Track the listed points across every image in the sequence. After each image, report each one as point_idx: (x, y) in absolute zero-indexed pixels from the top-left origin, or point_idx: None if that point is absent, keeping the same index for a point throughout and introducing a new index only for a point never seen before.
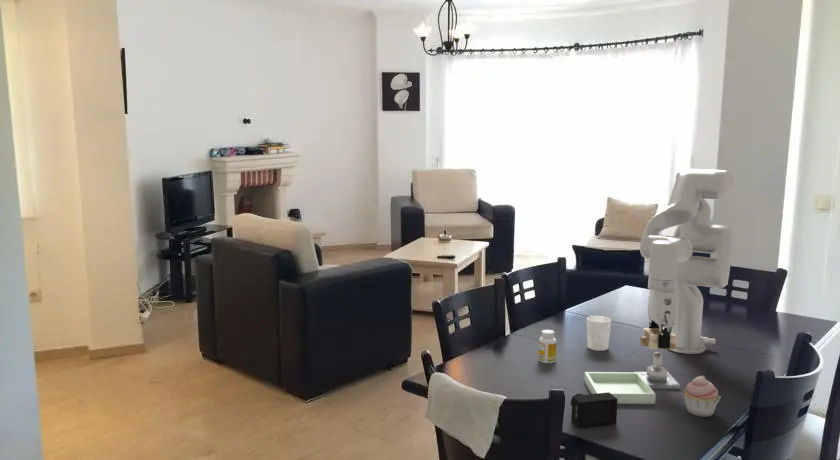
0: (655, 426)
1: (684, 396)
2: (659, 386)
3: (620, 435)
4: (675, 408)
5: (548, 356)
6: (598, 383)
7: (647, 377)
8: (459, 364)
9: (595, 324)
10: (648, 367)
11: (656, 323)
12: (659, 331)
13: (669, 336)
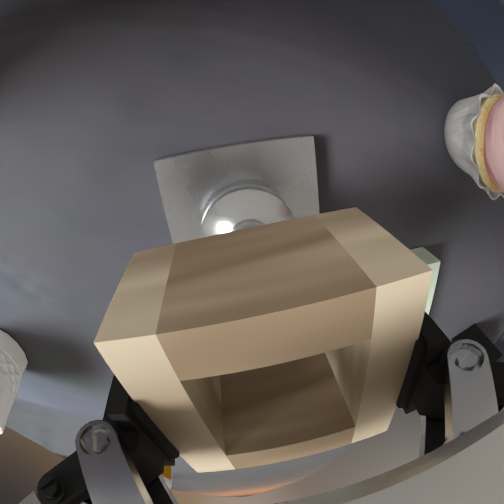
0: (497, 259)
1: (491, 191)
2: None
3: (498, 314)
4: (448, 195)
5: None
6: None
7: None
8: (224, 493)
9: (3, 421)
10: None
11: (136, 462)
12: (198, 392)
13: (435, 334)
